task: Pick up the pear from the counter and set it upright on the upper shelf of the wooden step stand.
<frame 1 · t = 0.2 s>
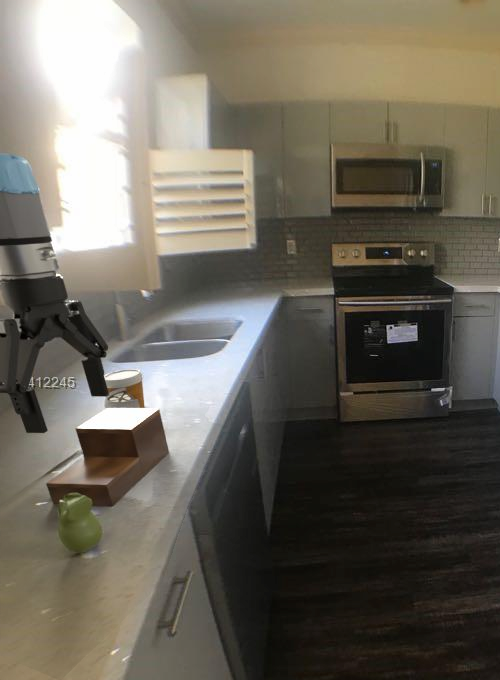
hand: (71, 412, 72), 22 cm above the worktop, tool pointing down, fingers open, 13 cm apart
wooden step stand: (116, 476, 95), on the worktop
disposable coffee cup: (132, 416, 123), on the worktop
pear: (87, 548, 75), on the worktop
food container: (127, 434, 114), on the worktop
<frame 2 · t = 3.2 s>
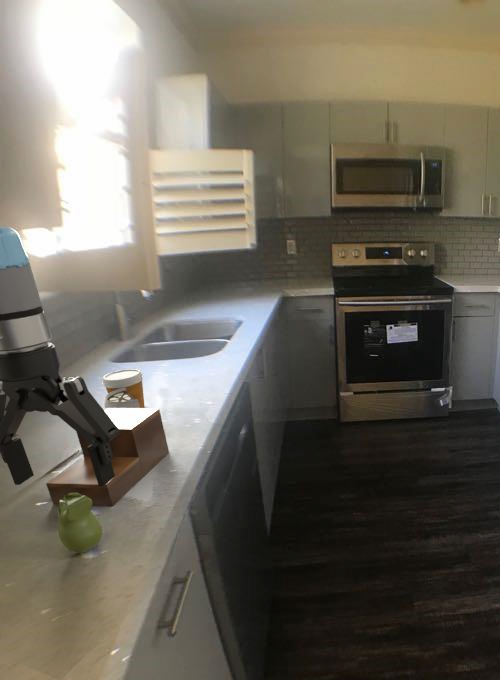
hand: (65, 480, 70), 13 cm above the worktop, tool pointing down, fingers open, 13 cm apart
nothing on the worktop moved.
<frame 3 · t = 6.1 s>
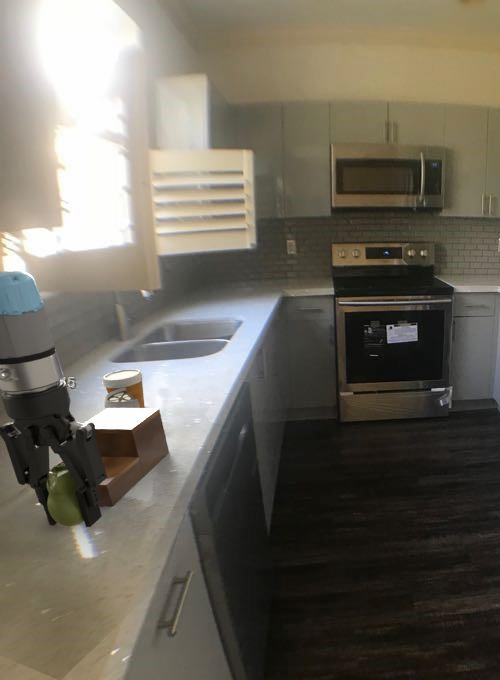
hand: (76, 520, 73), 5 cm above the worktop, tool pointing down, fingers closed on pear, 5 cm apart
pear: (77, 523, 73), point 5 cm above the worktop, touching gripper
everything else where it was.
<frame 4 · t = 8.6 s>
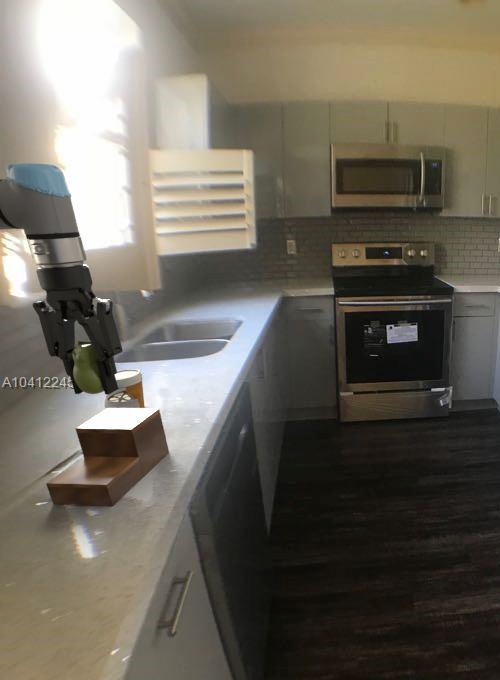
hand: (96, 391, 86), 20 cm above the worktop, tool pointing down, fingers closed on pear, 5 cm apart
pear: (97, 393, 86), point 19 cm above the worktop, touching gripper
everything else where it was.
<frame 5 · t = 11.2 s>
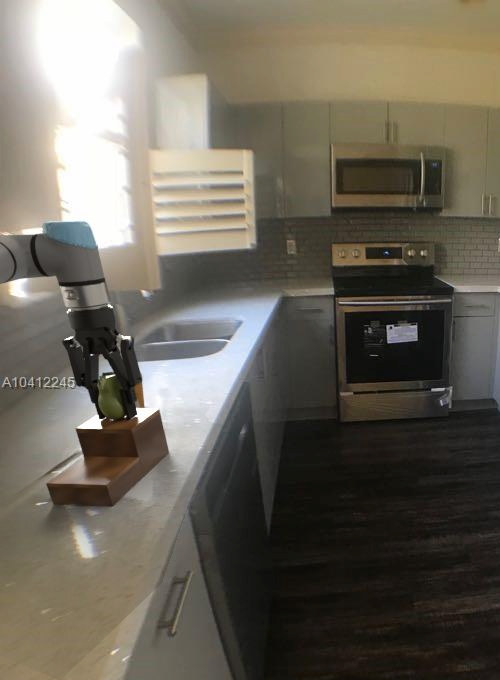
hand: (118, 416, 95), 11 cm above the worktop, tool pointing down, fingers closed on pear, 5 cm apart
pear: (119, 418, 96), point 11 cm above the worktop, touching gripper, wooden step stand
everything else where it was.
when the fingers open (11 cm above the worktop, at t = 11.4 s): pear stays where it is, resting on wooden step stand.
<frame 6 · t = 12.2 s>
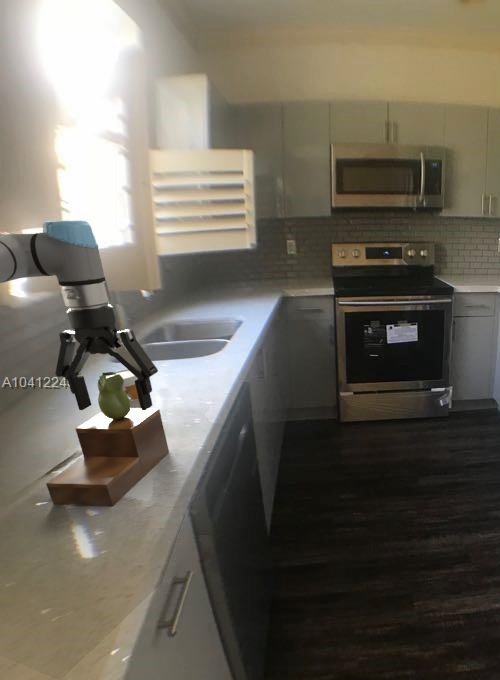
hand: (116, 407, 95), 13 cm above the worktop, tool pointing down, fingers open, 13 cm apart
pear: (119, 418, 96), point 11 cm above the worktop, touching wooden step stand
everything else where it was.
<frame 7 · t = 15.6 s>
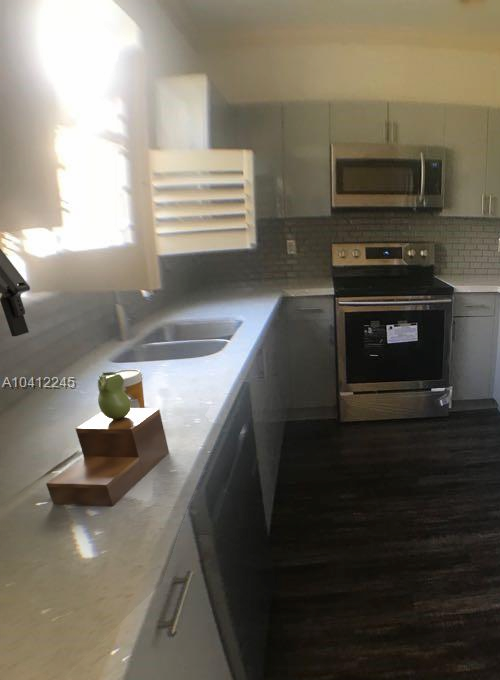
nothing on the worktop moved.
at the end: pear inside the target area on the wooden step stand (0.5 cm from its centre), point 10.8 cm above the wooden step stand's base; pear tilted 0°; the gripper is holding nothing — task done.
